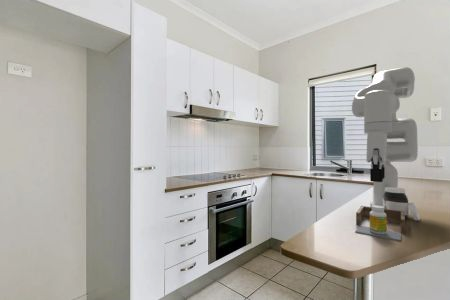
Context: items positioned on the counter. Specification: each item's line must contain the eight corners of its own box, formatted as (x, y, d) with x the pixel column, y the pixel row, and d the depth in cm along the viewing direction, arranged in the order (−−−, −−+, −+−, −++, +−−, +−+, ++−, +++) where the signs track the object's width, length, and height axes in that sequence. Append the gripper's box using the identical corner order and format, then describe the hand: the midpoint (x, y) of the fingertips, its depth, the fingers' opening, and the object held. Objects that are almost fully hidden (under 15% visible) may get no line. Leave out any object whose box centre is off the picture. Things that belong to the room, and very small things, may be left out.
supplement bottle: (379, 235, 71) (378, 208, 71) (366, 230, 76) (366, 205, 76) (390, 233, 73) (390, 207, 73) (377, 228, 77) (376, 204, 77)
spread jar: (380, 212, 99) (380, 186, 99) (411, 214, 96) (411, 187, 96) (390, 220, 88) (390, 190, 88) (425, 223, 84) (425, 192, 84)
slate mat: (358, 226, 81) (358, 225, 81) (401, 234, 73) (401, 232, 73) (355, 232, 75) (355, 231, 75) (400, 241, 67) (400, 240, 67)
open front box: (361, 216, 93) (361, 205, 93) (404, 223, 84) (404, 211, 84) (356, 224, 82) (356, 212, 82) (404, 233, 74) (404, 220, 74)
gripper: (367, 130, 83) (367, 176, 83) (360, 127, 70) (360, 182, 70) (392, 129, 79) (392, 177, 79) (390, 125, 65) (390, 184, 65)
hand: (377, 179), depth 74 cm, fingers open, 9 cm apart
